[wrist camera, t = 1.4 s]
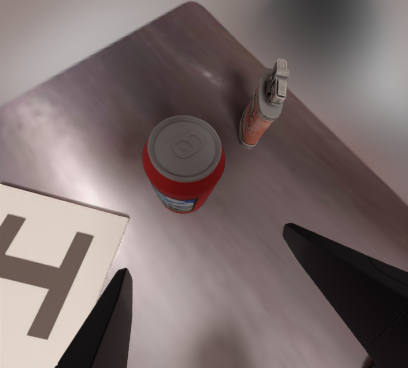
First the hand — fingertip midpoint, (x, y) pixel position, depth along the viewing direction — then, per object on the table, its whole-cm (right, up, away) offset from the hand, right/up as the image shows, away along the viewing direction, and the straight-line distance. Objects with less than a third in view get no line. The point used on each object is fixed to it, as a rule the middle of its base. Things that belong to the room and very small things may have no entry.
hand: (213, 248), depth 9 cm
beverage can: (-3, +3, +14) cm, 15 cm away
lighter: (+7, +13, +19) cm, 24 cm away
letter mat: (-20, -6, +9) cm, 22 cm away
